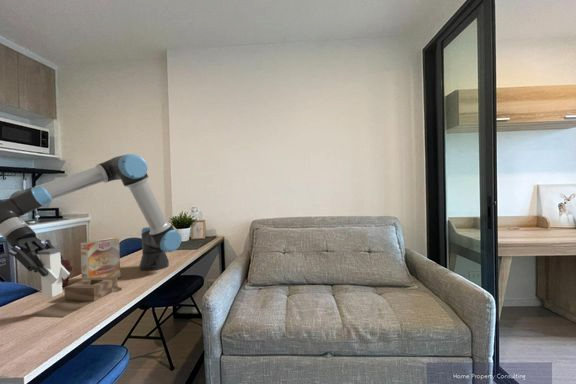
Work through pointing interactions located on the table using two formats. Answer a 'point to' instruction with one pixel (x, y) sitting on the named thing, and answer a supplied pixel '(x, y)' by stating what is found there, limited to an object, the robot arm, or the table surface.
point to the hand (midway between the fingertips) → (61, 278)
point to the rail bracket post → (54, 264)
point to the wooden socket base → (80, 296)
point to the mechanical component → (68, 268)
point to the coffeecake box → (100, 258)
